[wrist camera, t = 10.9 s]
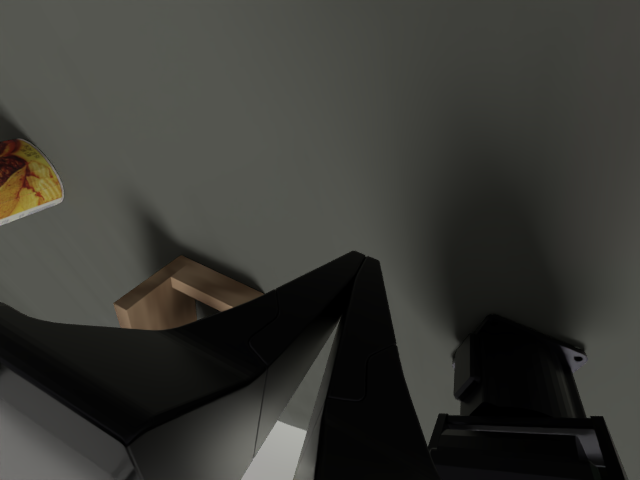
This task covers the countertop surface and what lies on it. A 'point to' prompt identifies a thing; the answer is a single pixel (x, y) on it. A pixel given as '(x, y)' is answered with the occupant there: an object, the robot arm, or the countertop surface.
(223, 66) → the countertop surface
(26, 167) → the canned food
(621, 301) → the countertop surface
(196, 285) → the roll cradle
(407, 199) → the countertop surface
